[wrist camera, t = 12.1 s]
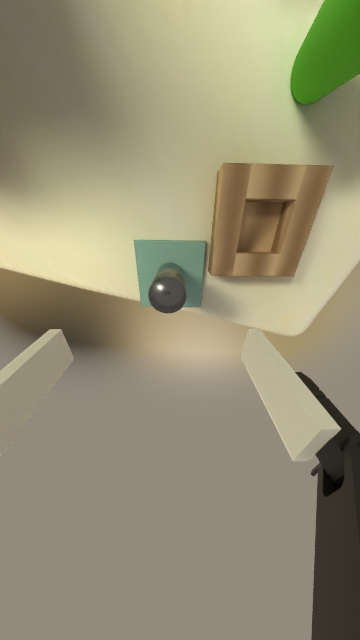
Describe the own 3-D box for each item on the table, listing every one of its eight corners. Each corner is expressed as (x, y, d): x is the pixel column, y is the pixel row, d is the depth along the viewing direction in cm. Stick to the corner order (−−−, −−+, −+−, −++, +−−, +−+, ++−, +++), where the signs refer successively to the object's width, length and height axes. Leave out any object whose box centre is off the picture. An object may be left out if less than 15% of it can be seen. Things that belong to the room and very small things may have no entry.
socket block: (208, 270, 30) (211, 275, 27) (217, 171, 23) (224, 162, 20) (281, 271, 30) (293, 276, 27) (313, 174, 24) (333, 165, 20)
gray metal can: (157, 289, 31) (149, 313, 22) (156, 262, 29) (146, 276, 20) (183, 289, 31) (185, 313, 22) (184, 262, 29) (187, 277, 20)
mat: (141, 304, 33) (141, 306, 33) (134, 239, 27) (133, 240, 27) (199, 305, 33) (200, 306, 33) (205, 241, 28) (205, 241, 27)
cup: (259, 65, 19) (346, -107, 9) (343, -33, 16) (596, -431, 6) (289, 148, 22) (376, 86, 13) (362, 79, 19) (545, -68, 10)
